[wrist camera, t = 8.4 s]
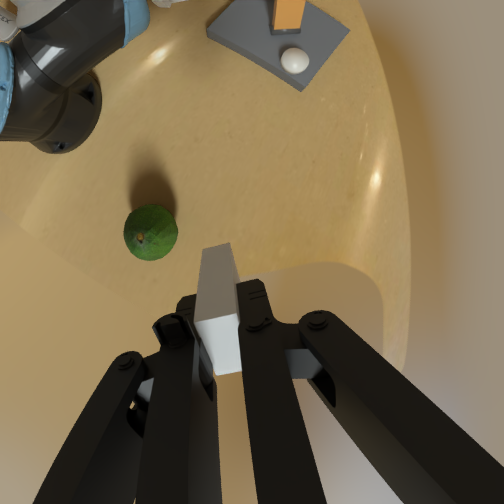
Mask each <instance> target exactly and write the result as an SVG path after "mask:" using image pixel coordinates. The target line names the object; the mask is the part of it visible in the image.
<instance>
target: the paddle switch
mask: <svg viewBox="0 0 504 504" xmlns="http://www.w3.org/2000/svg"><path fill="white" fill-rule="evenodd" d="M305 2H306V0H275V1H274V11H273V20H272V25H270V33H271V35H286V34H300V33H301V26H300V25H301V20H302V15H303V11H304V6H305Z"/></svg>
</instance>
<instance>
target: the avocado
mask: <svg viewBox="0 0 504 504" xmlns="http://www.w3.org/2000/svg"><path fill="white" fill-rule="evenodd" d="M177 235H178V228H177V225H176V222H175V219H174V218H173V216H172V215H171V214H170V212H169V211H168V210H166V209H165V208H163V207H162V206H160V205H153V204H149V205H145V206H142V207H140V208H138V209H136V210H135V211H133V212H132V213H130V214H129V216H128V218H127V220H126V222H125V226H124V240H125V242H126V245H127V247H128V249H129V250H130V252H131V253H132V254H133V255H135V256H136V257H137V258H139V259H142V260H146V261H153V260H157V259H160V258H163V257H164V256H165V255H166V254H168V253H169V252H170V251H171V249H172V248H173V246H174V244H175V242H176V240H177Z"/></svg>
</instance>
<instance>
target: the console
mask: <svg viewBox="0 0 504 504" xmlns="http://www.w3.org/2000/svg"><path fill="white" fill-rule="evenodd" d="M274 1H275V0H235V1H233V2H232V3H231V4H230V5H229V6H228V7H227V8H226V9H225V10H224V11H223V12H222V13H221V15H220V16H219V17H218V18H217V19H216V20H215V21H214V22H213V23H212V24H211V25H210V26H209V27H208V28H207V37H208V38H210V39H212V40H214V41H216V42H218V43H220V44H222V45H224V46H226V47H228V48H230V49H232V50H233V51H235V52H237V53H239V54H241V55H242V56H244V57H246V58H248V59H249V60H251V61H253V62H255V63H256V64H258V65H260V66H261V67H263V68H265V69H266V70H268V71H269V72H271V73H273V74H274V75H276V76H277V77H279V78H280V79H282V80H284V81H285V82H287V83H288V84H290V85H291V86H293V87H294V88H296V89H297V90H298V91H300V92H301V91H302V90H303V89H305V88H306V86H307V85H308V84H309V82H310V81H311V80H312V78H313V77H314V76H315V74H316V73H317V72H318V70H319V69H320V68H321V67H322V65H323V64H324V63H325V61H326V60H327V59H328V58H329V56H330V55H331V54H332V53H333V51H334V50H335V49H336V47H337V46H338V45H339V44H340V42H341V41H342V40H343V39H344V38H345V36H346V35H347V34H348V33H349V31H350V30H349V29H348V28H347V27H345V26H344V25H343V24H341V23H340V22H338V21H337V20H335V19H334V18H332V17H331V16H329V15H328V14H326V13H325V12H323V11H322V10H320V9H318V8H317V7H315V6H314V5H312V4H310V3H309V2H307V1H306V2H305V6H304V11H303V15H302V20H301V25H300V26H301V33H300V34H286V35H271V33H270V25H272V20H273V11H274ZM289 48H298V49H301V50H303V51H304V52H305V53H306V54H307V55H308V58H309V64H308V66H307V68H306V69H305V70H304V71H303V72H302V73H300V74H297V75H292V74H288V73H286V72H285V71H284V70H283V69H282V68H281V66H280V59H281V57H282V55H283V53H284V52H285V51H286V50H287V49H289Z"/></svg>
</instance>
